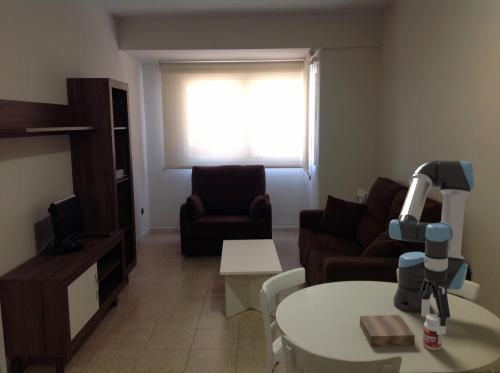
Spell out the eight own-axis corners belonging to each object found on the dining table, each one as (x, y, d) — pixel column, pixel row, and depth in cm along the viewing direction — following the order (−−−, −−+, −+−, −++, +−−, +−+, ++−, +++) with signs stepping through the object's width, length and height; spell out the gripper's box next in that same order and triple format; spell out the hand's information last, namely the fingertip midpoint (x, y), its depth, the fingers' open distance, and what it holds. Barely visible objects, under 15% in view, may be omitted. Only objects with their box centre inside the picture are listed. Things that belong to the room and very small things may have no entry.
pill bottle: (420, 347, 159) (421, 317, 157) (426, 340, 164) (427, 311, 162) (438, 352, 155) (439, 322, 153) (443, 345, 160) (445, 316, 158)
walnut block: (399, 324, 176) (399, 314, 176) (414, 345, 161) (414, 335, 160) (359, 325, 176) (359, 316, 176) (370, 346, 161) (370, 336, 160)
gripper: (411, 257, 167) (409, 309, 170) (440, 281, 142) (437, 342, 146) (431, 256, 167) (429, 309, 170) (463, 280, 142) (459, 341, 146)
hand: (432, 324), depth 158 cm, fingers open, 13 cm apart
